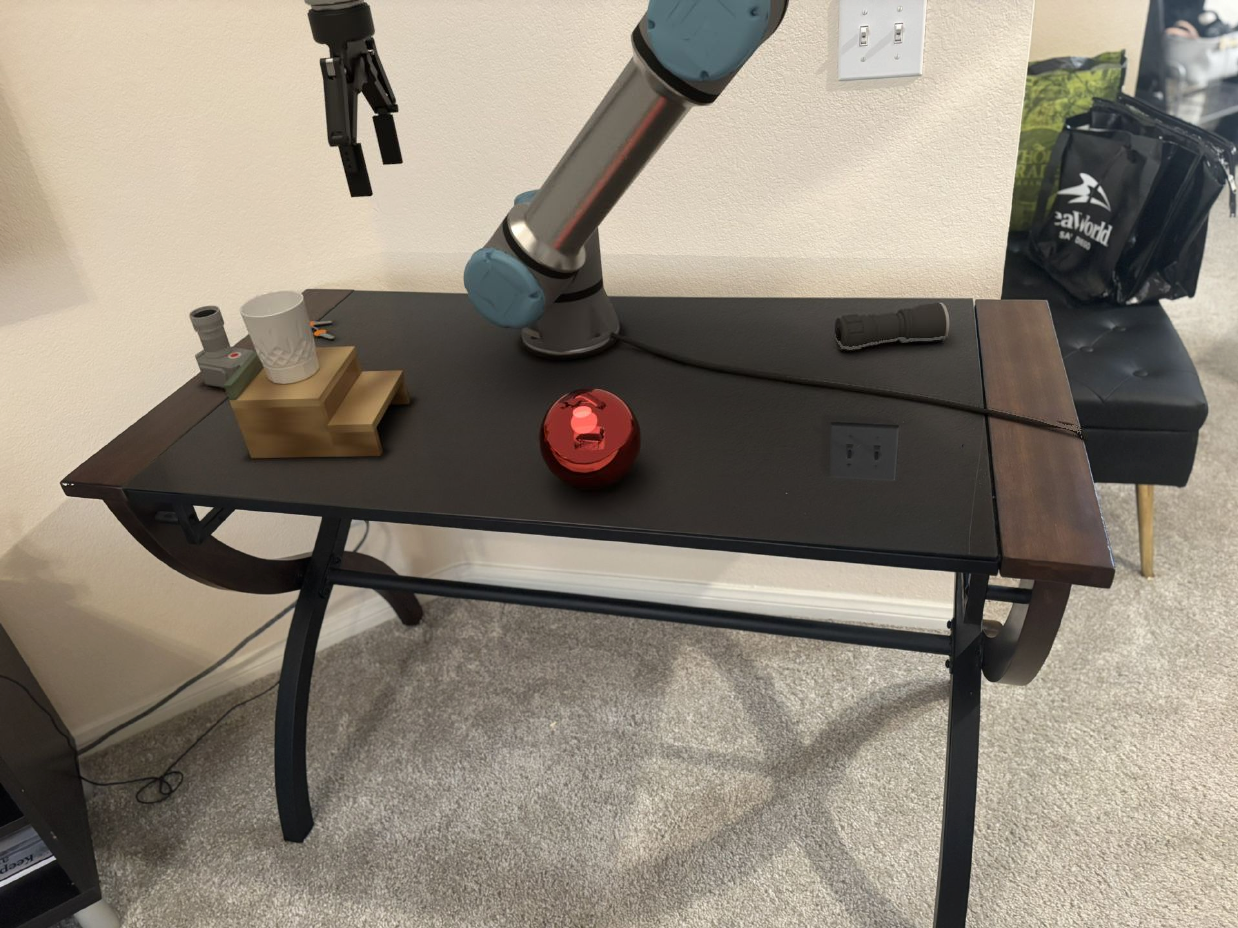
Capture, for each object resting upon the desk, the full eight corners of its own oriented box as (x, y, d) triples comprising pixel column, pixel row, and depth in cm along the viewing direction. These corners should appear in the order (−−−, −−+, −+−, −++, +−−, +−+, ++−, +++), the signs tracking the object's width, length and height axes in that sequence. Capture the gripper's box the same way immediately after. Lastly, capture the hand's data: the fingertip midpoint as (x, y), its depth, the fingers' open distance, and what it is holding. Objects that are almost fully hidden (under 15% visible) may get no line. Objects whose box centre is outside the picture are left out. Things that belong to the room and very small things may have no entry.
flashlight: (841, 359, 129) (843, 325, 126) (830, 342, 134) (832, 308, 131) (947, 346, 130) (951, 312, 127) (933, 330, 134) (937, 296, 131)
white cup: (335, 360, 122) (315, 291, 117) (301, 389, 116) (278, 318, 111) (287, 355, 125) (265, 288, 119) (251, 384, 119) (226, 314, 113)
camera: (208, 297, 137) (287, 308, 132) (232, 365, 144) (308, 378, 139) (165, 322, 131) (246, 334, 126) (192, 392, 138) (270, 407, 132)
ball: (659, 462, 112) (654, 377, 105) (617, 519, 104) (608, 430, 97) (574, 445, 117) (563, 363, 110) (527, 498, 108) (513, 412, 101)
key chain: (259, 343, 150) (257, 339, 149) (277, 323, 155) (275, 319, 155) (332, 341, 148) (331, 337, 147) (348, 321, 154) (346, 317, 153)
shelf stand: (410, 400, 130) (393, 330, 124) (380, 456, 119) (359, 381, 112) (291, 403, 132) (268, 334, 126) (251, 458, 121) (223, 385, 114)
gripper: (342, -9, 120) (379, 153, 133) (266, 25, 100) (318, 212, 112) (396, -13, 120) (429, 150, 132) (331, 20, 99) (376, 209, 111)
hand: (378, 179), depth 122 cm, fingers open, 13 cm apart
